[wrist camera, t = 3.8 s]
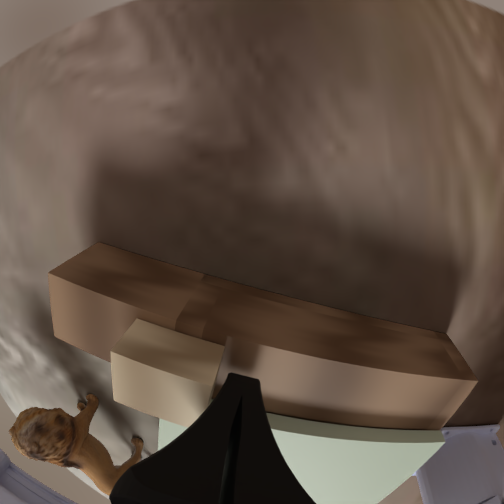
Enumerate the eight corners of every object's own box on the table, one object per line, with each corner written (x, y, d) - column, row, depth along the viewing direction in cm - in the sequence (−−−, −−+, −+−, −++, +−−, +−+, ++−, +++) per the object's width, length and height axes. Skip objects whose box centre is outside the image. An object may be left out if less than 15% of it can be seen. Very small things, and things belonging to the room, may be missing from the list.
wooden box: (446, 333, 17) (478, 381, 12) (331, 484, 24) (333, 524, 19) (98, 242, 17) (48, 272, 13) (108, 430, 24) (88, 466, 19)
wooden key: (225, 346, 12) (212, 386, 10) (213, 392, 13) (201, 431, 11) (136, 318, 12) (110, 351, 10) (135, 366, 14) (113, 400, 11)
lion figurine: (46, 380, 23) (-2, 438, 15) (65, 363, 22) (8, 430, 13) (151, 469, 26) (126, 532, 17) (182, 462, 24) (157, 535, 16)
